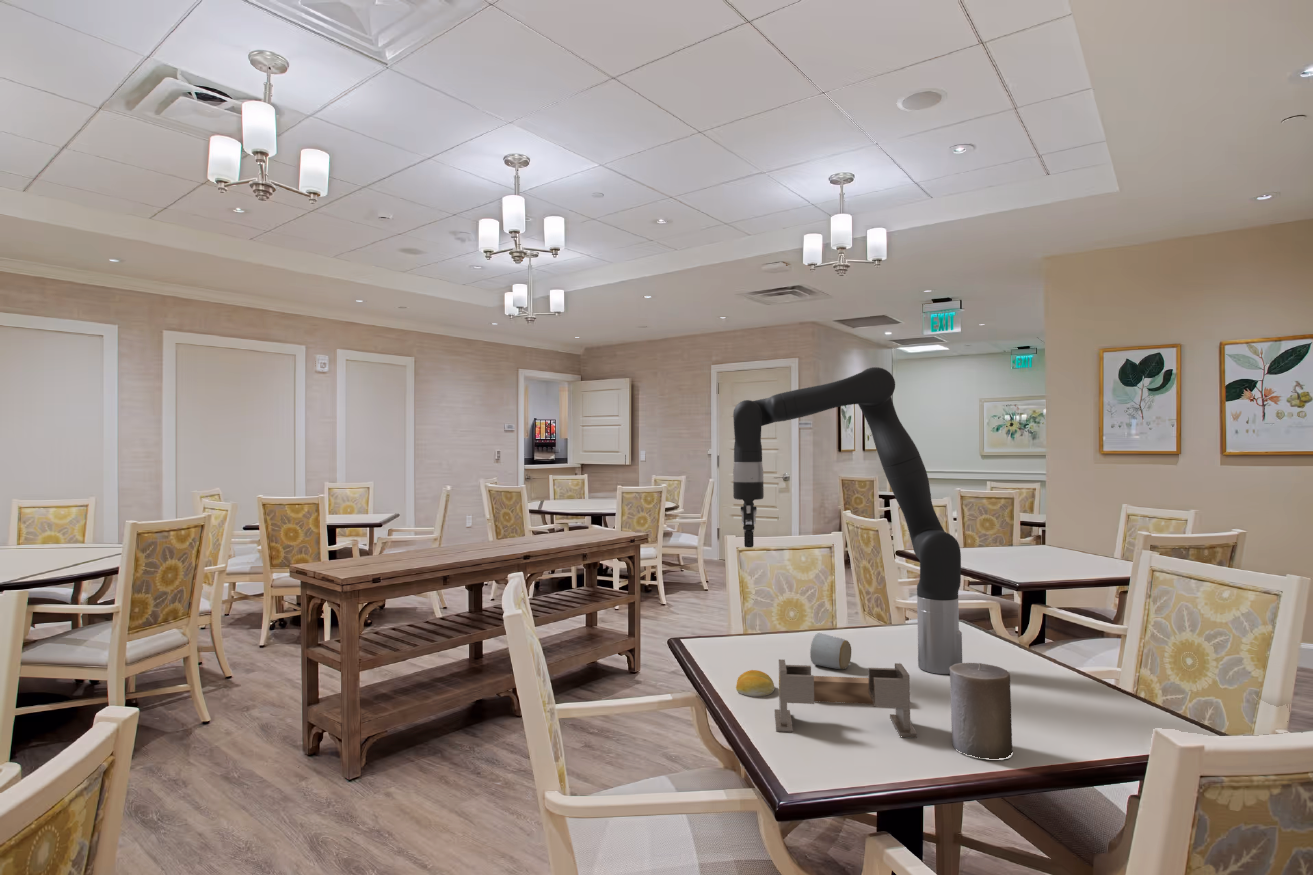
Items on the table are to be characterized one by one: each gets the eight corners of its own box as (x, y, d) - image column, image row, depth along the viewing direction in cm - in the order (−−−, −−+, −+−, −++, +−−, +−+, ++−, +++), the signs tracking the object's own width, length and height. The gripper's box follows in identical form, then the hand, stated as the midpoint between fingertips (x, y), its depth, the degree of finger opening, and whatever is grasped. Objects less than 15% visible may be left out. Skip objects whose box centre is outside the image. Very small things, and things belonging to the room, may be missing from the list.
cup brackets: (905, 719, 132) (904, 662, 133) (917, 737, 123) (915, 676, 124) (774, 713, 136) (773, 657, 136) (776, 731, 127) (775, 671, 127)
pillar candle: (1024, 752, 117) (1021, 664, 118) (992, 766, 112) (989, 674, 112) (971, 734, 125) (969, 652, 126) (939, 746, 120) (937, 660, 121)
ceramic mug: (842, 673, 160) (842, 640, 161) (809, 667, 165) (809, 635, 165) (857, 663, 169) (857, 632, 169) (826, 658, 174) (826, 627, 174)
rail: (893, 700, 143) (893, 678, 144) (896, 706, 140) (896, 684, 140) (806, 696, 146) (806, 675, 146) (807, 702, 143) (807, 680, 143)
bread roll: (735, 697, 146) (735, 678, 146) (737, 683, 155) (737, 665, 155) (774, 699, 144) (774, 680, 144) (774, 685, 153) (774, 667, 153)
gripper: (763, 481, 163) (764, 549, 163) (762, 479, 177) (763, 541, 177) (732, 481, 164) (733, 548, 164) (734, 479, 178) (734, 541, 178)
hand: (749, 544), depth 170 cm, fingers open, 8 cm apart
